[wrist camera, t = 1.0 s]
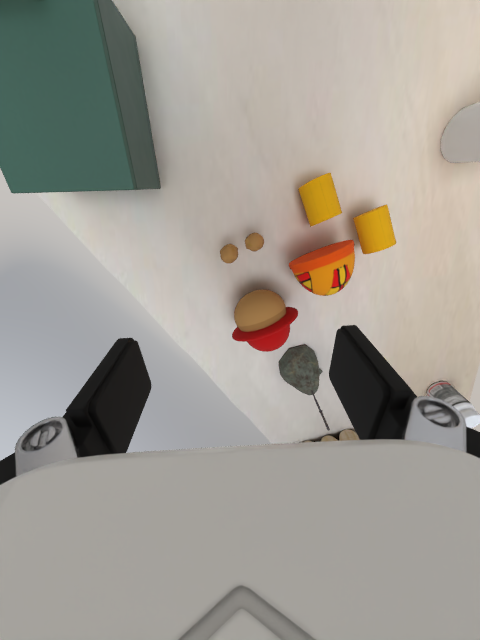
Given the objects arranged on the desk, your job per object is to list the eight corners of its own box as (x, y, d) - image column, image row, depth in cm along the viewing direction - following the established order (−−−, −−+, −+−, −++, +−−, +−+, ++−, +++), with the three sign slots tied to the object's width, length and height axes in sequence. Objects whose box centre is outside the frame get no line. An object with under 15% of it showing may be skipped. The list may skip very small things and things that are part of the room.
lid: (-89, -53, 16) (-224, -152, 11) (85, -55, 16) (25, -154, 11) (17, 193, 23) (-37, 195, 18) (137, 189, 23) (113, 190, 19)
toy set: (197, 240, 38) (243, 345, 42) (177, 237, 27) (241, 376, 32) (353, 170, 34) (384, 293, 39) (398, 134, 24) (433, 309, 28)
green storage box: (20, 38, 24) (-79, -30, 16) (135, 36, 24) (90, -33, 16) (71, 191, 31) (18, 193, 23) (160, 188, 31) (137, 189, 23)
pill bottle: (447, 394, 52) (482, 428, 45) (424, 398, 52) (455, 432, 45) (451, 378, 50) (488, 411, 42) (427, 383, 50) (460, 416, 43)
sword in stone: (269, 356, 45) (280, 408, 35) (307, 339, 44) (331, 387, 33) (290, 389, 50) (306, 443, 39) (326, 374, 48) (352, 426, 38)
